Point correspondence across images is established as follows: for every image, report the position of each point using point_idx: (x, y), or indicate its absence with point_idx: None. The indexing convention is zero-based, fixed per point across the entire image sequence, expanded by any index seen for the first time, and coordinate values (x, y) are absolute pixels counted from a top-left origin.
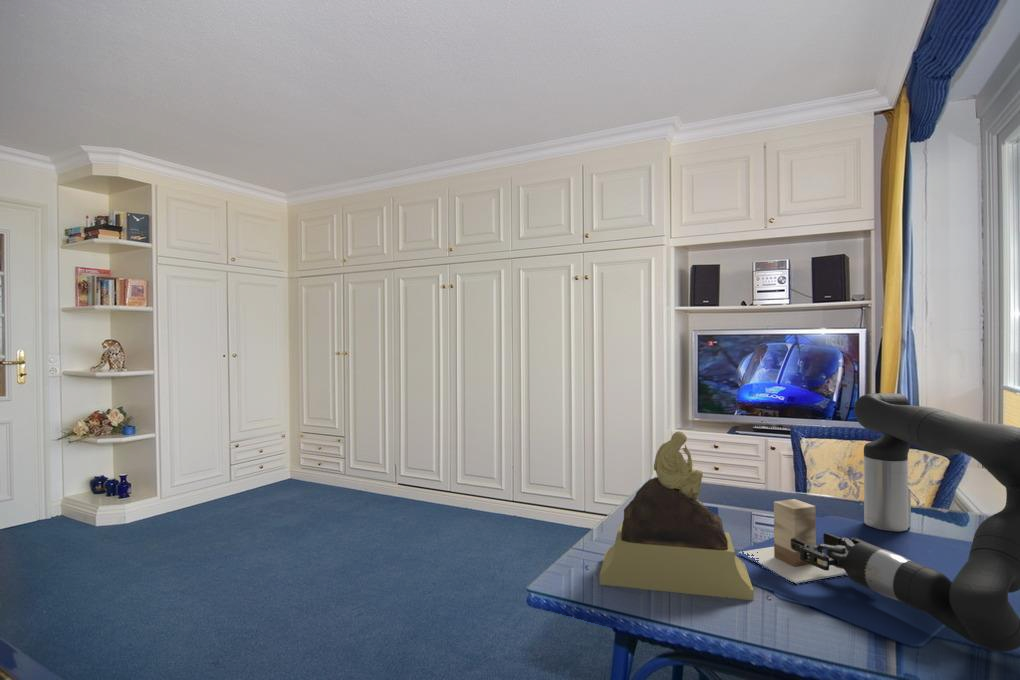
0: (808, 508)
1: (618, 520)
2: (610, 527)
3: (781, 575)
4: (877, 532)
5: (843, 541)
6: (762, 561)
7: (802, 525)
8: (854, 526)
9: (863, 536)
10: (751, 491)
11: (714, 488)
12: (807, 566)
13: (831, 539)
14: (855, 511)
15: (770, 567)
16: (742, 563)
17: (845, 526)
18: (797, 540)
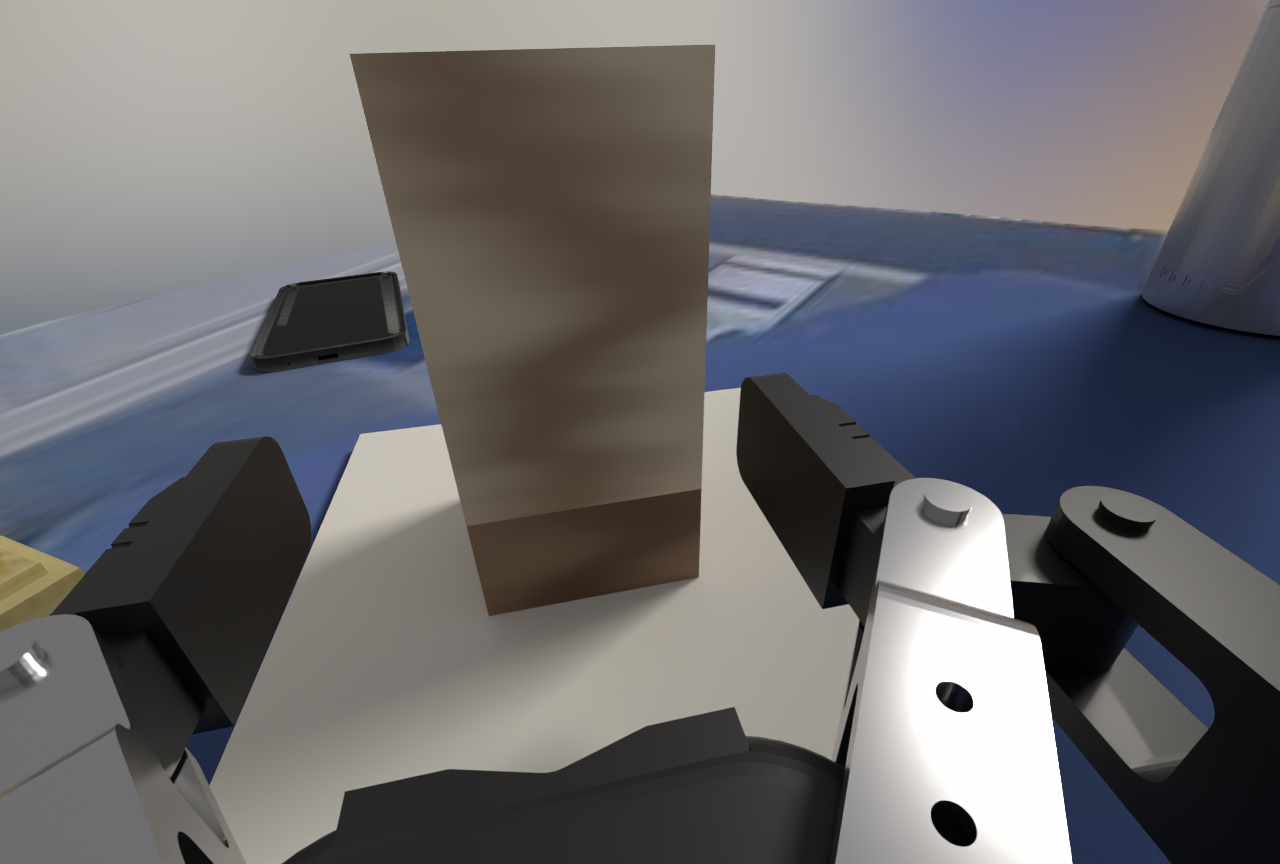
0: (603, 69)
1: (264, 276)
2: (178, 296)
3: (234, 738)
4: (1201, 340)
5: (875, 579)
6: (358, 526)
7: (527, 285)
8: (1092, 310)
9: (1126, 358)
10: (805, 209)
11: (713, 204)
12: (593, 616)
13: (781, 462)
14: (1110, 258)
15: (305, 603)
16: (42, 580)
17: (1050, 310)
18: (174, 493)
